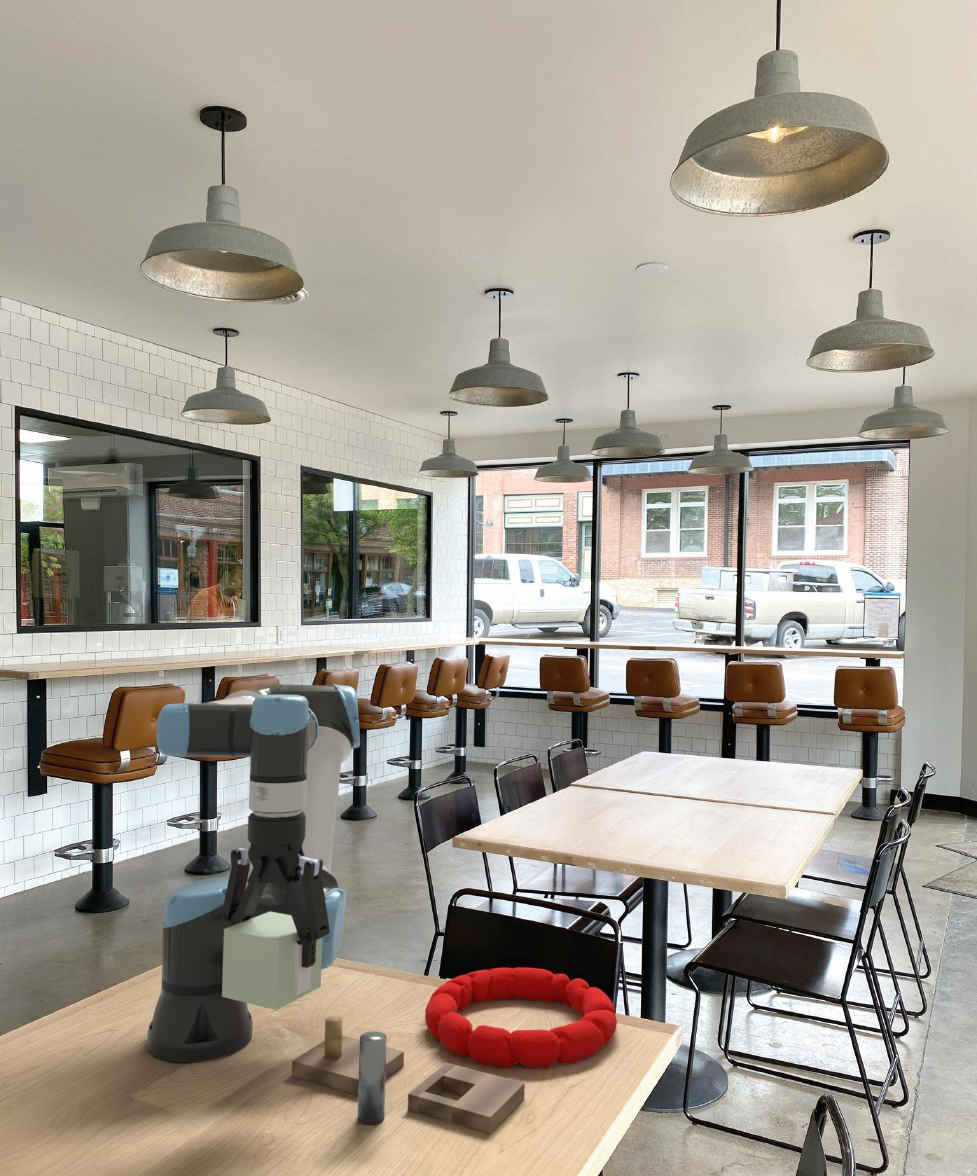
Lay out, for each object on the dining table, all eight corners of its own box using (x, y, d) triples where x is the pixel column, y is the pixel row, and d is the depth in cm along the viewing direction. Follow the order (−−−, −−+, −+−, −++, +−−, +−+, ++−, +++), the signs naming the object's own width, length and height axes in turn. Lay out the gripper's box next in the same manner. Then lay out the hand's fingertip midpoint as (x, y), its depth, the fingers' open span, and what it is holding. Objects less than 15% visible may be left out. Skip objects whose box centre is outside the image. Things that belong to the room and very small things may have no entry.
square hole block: (407, 1109, 120) (408, 1093, 120) (446, 1077, 129) (446, 1062, 129) (490, 1133, 114) (490, 1117, 114) (524, 1098, 123) (524, 1083, 123)
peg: (352, 1120, 117) (354, 1038, 118) (367, 1108, 120) (369, 1029, 121) (374, 1127, 115) (376, 1044, 116) (389, 1115, 118) (391, 1034, 119)
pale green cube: (222, 996, 120) (224, 929, 120) (268, 974, 128) (270, 911, 128) (276, 1010, 116) (278, 940, 116) (320, 986, 124) (322, 921, 124)
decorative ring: (609, 1051, 128) (622, 958, 157) (400, 1029, 134) (450, 943, 163) (609, 1102, 128) (622, 999, 157) (401, 1078, 134) (450, 983, 164)
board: (291, 1075, 129) (293, 1023, 129) (335, 1047, 137) (336, 999, 138) (363, 1096, 123) (364, 1042, 123) (403, 1065, 132) (404, 1015, 132)
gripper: (195, 808, 125) (190, 978, 124) (326, 825, 115) (321, 1010, 114) (234, 799, 132) (229, 961, 130) (361, 815, 122) (356, 990, 120)
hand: (272, 984), depth 122 cm, fingers closed on pale green cube, 9 cm apart
